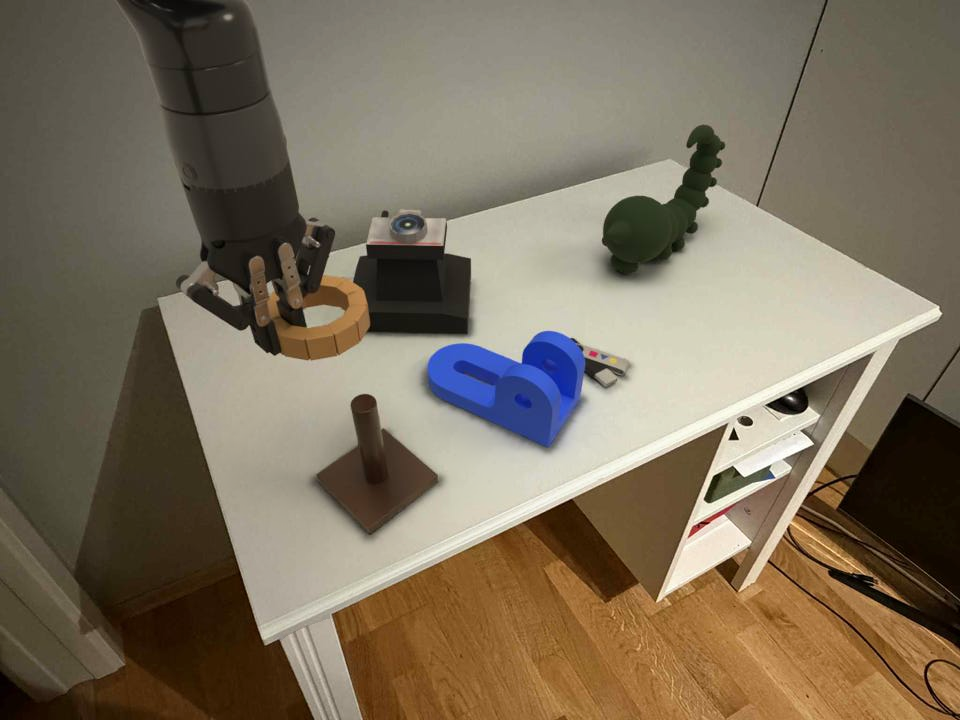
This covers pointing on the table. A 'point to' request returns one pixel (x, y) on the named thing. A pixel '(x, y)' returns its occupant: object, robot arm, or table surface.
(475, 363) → the bracket
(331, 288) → the orange segmented ring
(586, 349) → the usb flash drive
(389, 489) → the brown peg stand
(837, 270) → the table surface
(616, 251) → the toy figurine
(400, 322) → the camera
